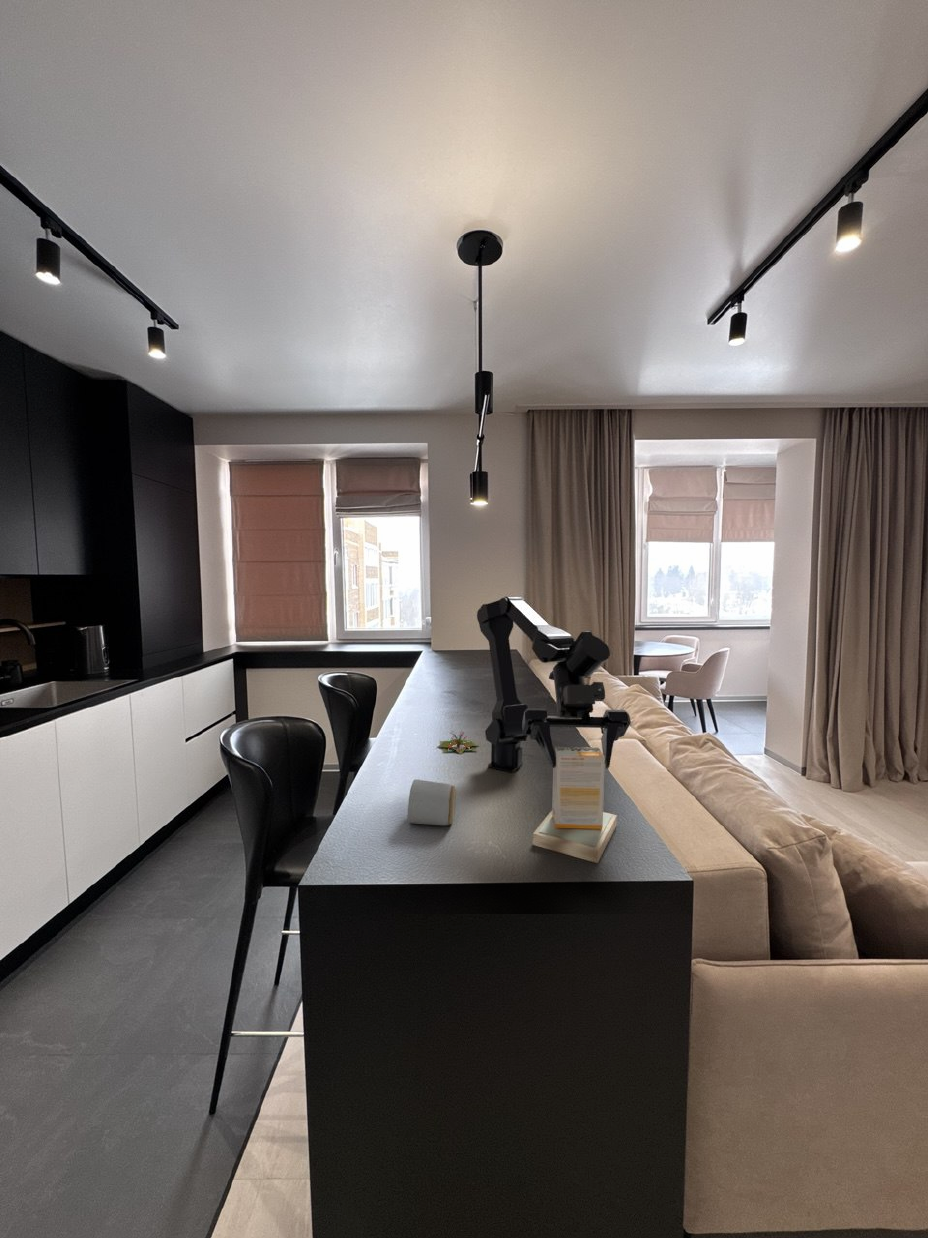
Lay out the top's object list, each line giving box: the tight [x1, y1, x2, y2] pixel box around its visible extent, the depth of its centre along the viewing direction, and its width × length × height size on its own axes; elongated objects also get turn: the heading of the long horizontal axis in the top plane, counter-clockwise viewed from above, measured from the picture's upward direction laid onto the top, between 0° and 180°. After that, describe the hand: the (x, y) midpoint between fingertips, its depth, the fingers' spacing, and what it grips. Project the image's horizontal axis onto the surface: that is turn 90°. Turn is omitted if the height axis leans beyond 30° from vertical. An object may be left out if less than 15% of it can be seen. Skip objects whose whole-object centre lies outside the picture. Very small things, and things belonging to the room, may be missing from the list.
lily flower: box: [437, 730, 479, 755], centre depth 135 cm, size 12×12×5 cm
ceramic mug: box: [407, 778, 457, 826], centre depth 95 cm, size 11×8×8 cm
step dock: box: [532, 810, 618, 864], centre depth 90 cm, size 11×14×2 cm
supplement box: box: [551, 746, 606, 829], centre depth 90 cm, size 8×5×13 cm, turn 88°
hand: (580, 767), depth 88 cm, fingers open, 9 cm apart
